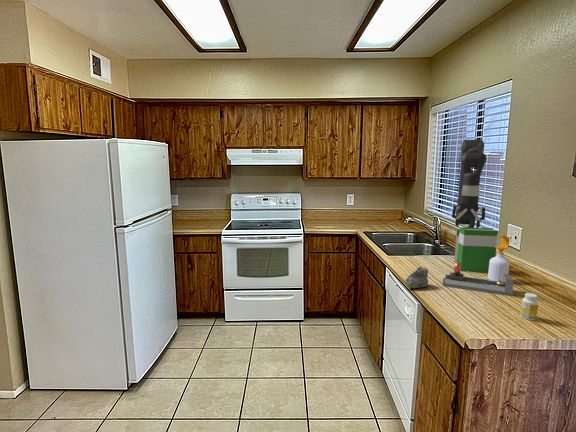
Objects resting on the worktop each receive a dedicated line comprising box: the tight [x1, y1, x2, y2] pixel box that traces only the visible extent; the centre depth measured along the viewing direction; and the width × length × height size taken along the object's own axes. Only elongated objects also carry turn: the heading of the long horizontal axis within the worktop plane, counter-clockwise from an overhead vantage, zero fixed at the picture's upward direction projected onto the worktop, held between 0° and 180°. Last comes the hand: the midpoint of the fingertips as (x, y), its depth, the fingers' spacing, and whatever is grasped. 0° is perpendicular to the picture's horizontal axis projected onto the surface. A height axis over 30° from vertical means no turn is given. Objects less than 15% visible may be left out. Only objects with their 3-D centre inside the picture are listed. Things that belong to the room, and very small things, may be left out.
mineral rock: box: [405, 266, 429, 289], centre depth 172 cm, size 13×11×10 cm
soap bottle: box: [487, 233, 511, 282], centre depth 181 cm, size 9×9×25 cm
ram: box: [449, 262, 465, 281], centre depth 174 cm, size 6×6×10 cm
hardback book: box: [457, 226, 499, 273], centre depth 198 cm, size 18×7×24 cm, turn 82°
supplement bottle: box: [519, 292, 539, 321], centre depth 139 cm, size 5×5×10 cm
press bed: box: [442, 274, 514, 297], centre depth 171 cm, size 9×30×8 cm, turn 65°
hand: (467, 227), depth 171 cm, fingers open, 8 cm apart
